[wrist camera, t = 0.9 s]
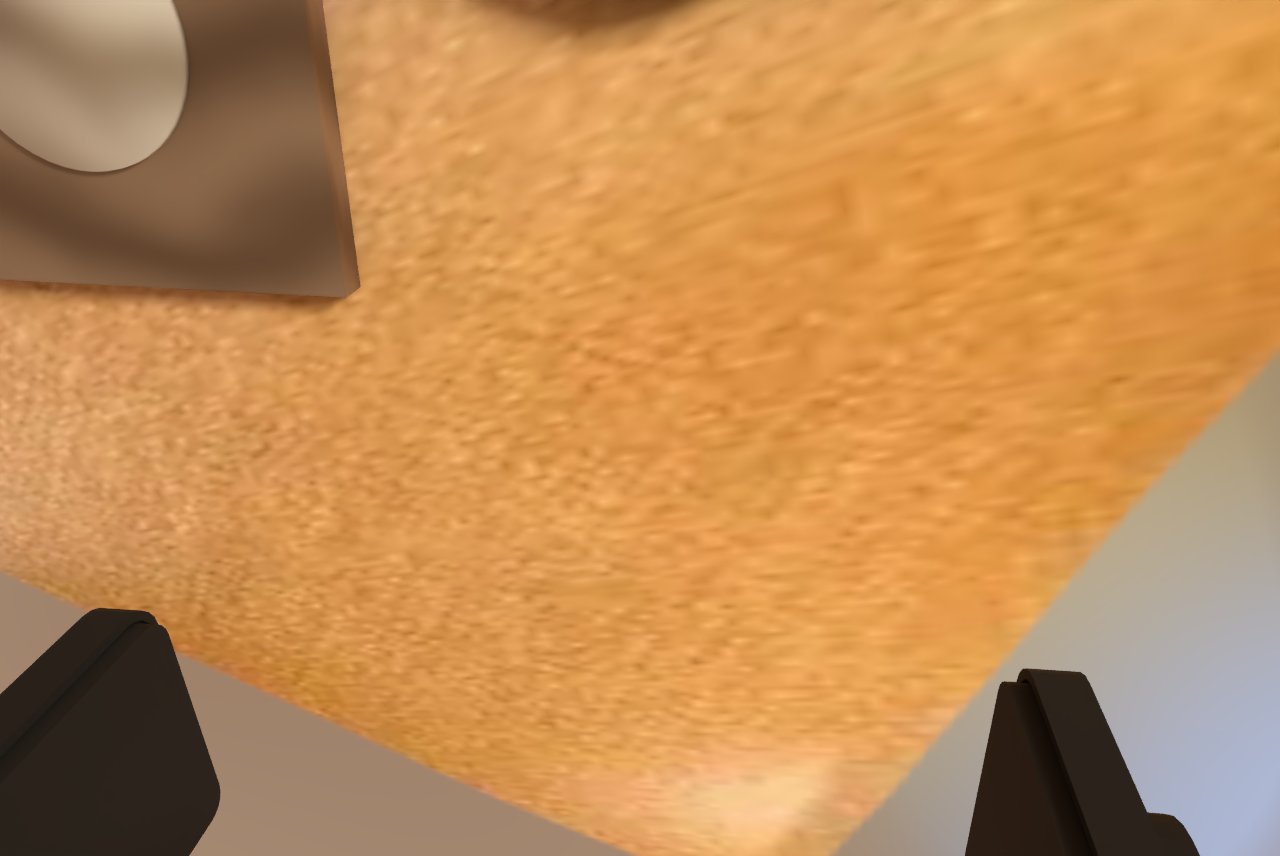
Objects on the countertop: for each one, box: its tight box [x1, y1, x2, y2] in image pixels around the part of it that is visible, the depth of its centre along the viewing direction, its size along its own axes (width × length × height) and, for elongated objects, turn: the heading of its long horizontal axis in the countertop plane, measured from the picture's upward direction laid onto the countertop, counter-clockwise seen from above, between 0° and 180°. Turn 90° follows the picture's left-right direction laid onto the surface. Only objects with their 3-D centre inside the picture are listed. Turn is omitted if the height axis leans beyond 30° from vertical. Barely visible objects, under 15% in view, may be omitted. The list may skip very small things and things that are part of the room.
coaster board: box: [0, 0, 360, 298], centre depth 36 cm, size 20×20×2 cm
